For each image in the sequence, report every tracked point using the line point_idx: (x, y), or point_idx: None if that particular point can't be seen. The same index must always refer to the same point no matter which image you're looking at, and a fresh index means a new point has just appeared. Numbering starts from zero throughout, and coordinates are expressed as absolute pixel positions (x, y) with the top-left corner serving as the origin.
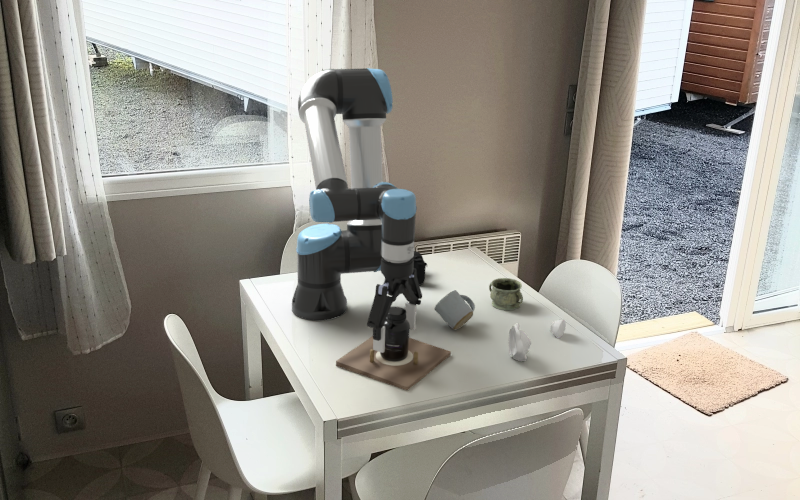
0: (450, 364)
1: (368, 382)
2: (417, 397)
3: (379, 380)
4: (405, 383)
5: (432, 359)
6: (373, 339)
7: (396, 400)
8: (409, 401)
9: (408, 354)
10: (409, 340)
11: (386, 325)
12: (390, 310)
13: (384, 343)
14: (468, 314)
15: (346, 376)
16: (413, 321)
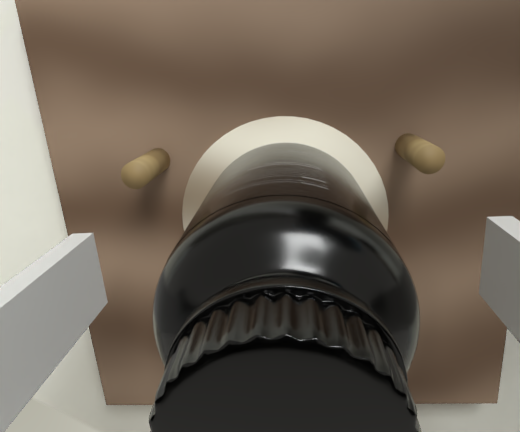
0: (420, 408)
1: (58, 225)
2: (124, 423)
3: None
4: (122, 386)
5: None
6: (27, 268)
7: (52, 379)
8: (83, 415)
9: None
10: (494, 184)
11: (161, 323)
12: (239, 395)
13: (76, 337)
14: None
15: (15, 110)
16: (514, 328)
